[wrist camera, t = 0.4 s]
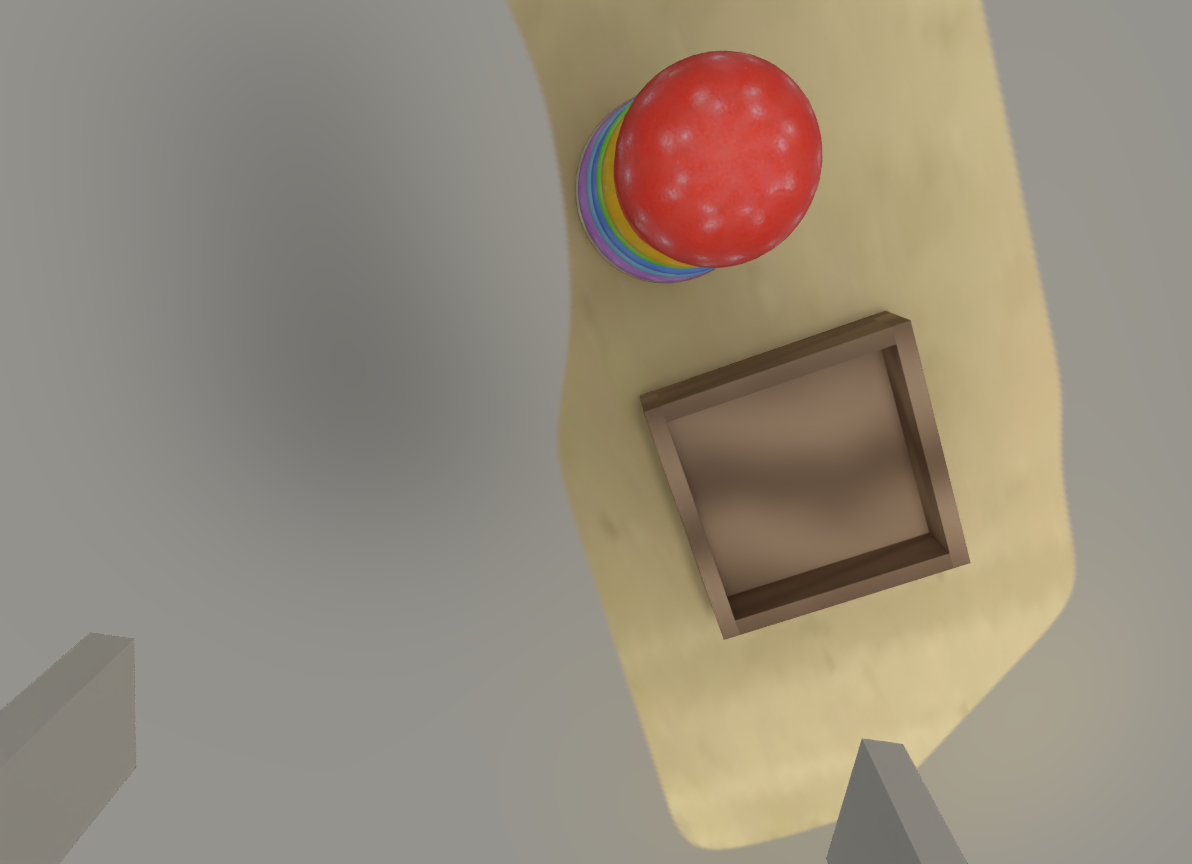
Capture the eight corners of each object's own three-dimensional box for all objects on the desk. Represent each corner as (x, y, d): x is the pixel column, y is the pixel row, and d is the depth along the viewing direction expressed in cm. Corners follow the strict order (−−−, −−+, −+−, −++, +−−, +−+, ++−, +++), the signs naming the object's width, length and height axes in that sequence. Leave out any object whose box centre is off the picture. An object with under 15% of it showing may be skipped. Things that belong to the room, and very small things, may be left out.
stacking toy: (792, 189, 36) (992, 180, 18) (661, 316, 37) (722, 426, 19) (670, 51, 34) (753, -114, 16) (538, 189, 36) (480, 180, 18)
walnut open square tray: (640, 395, 38) (643, 411, 35) (885, 310, 37) (910, 320, 34) (714, 609, 41) (723, 639, 38) (943, 536, 40) (970, 562, 37)
